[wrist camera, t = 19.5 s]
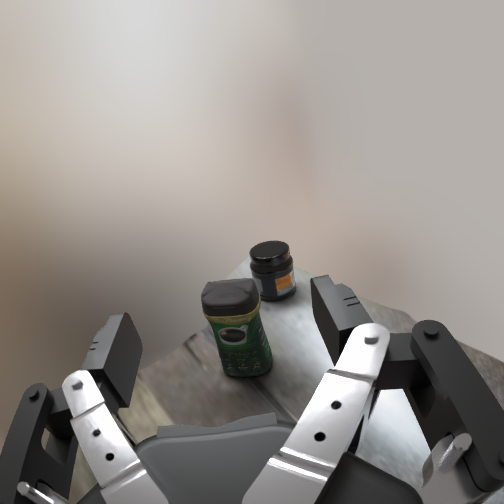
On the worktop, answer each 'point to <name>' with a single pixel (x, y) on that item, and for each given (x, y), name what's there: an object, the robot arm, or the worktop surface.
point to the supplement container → (272, 270)
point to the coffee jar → (237, 326)
